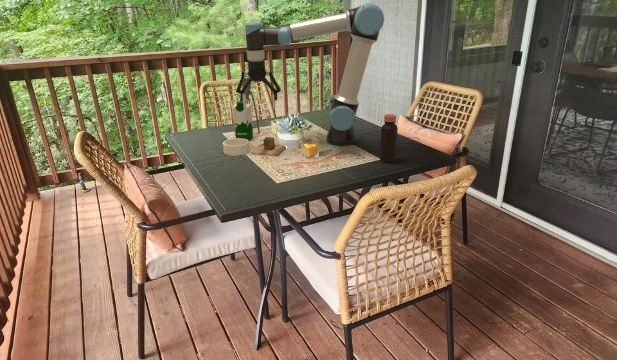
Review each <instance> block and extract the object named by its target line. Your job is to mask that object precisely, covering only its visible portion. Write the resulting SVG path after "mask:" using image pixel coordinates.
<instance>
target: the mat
mask: <svg viewBox="0 0 617 360" xmlns="http://www.w3.org/2000/svg"><path fill="white" fill-rule="evenodd" d="M287 150H288V149H285V150H284V151H283V152H282V153H281V154H280V155H279V156H267V155H254V154H251V152H249V153H248V156H257V157H270V158H281V156H282V155H283V154H285V153H286V151H287Z"/></svg>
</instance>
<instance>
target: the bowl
mask: <svg viewBox="0 0 617 360" xmlns="http://www.w3.org/2000/svg"><path fill="white" fill-rule="evenodd" d="M250 147H251V146H250V141H248V140H247V139H242V138H236V137H235V138H229V139H225V140H224V141H222V148H223V149H222V150H223V154H224V155H226V156H231V157H233V156H234V157H237V156H243V155H246V154H249V153H250V151H251V150H250V149H251V148H250Z"/></svg>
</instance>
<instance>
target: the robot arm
mask: <svg viewBox="0 0 617 360" xmlns="http://www.w3.org/2000/svg"><path fill="white" fill-rule="evenodd" d="M384 22H385V16H384V12H383V10H382V9H381V8H380V7H379V6H378V5H377V4H374V3H364V4H362V5H359V6H357V7H355V8H351V9H347V10H346V11H344V12H341V13H336V14H332V15H327V16H326V15H325V16H320V17H317V18H311V19H307V20H301V21H296V22H290V23H286V24H280V25H279V24H278V25H277V26H272V27H266V26H263V23H262V22H248V23H246V24H245V25H244V27H245V28H244V30H245V31H244V32H245V34H244V36H245V45H246V56H247V57H246V59H247V60H248V61H247V68H248V69H247V70H248V71H241V75H240V76H241V77H240V79H239V82H238V85H237V86H236V90H235V93H236V94H239V95H240V96H241V101H243V105H244V109H245V108H246V107H247V106H246V104H247V99H246V94H245V93H244V91H245V90H246V89H247V87H248V86H249V84H250V83H251V84H252V82H253V83H256V82H257V83H258V82H259V83H261V82H263V84H265V85H266V86H267V88H268V89H270V91H271V92H272V94H271V95H272V96H271V97H272V108H273V109H276V101H278V93H280V92H281V91H282V89H281V87H280V85H279V83H278V81H277V80H276V78H275V76H274V73H273V70H270V71H266V61H265V60H264V59H265V47H271V46H275V47H276V46H282V47H283V46H290V45H291V43H292V41H299V40H304V39H309V38H314V37H319V36H325V35H331V34H337V33H342V32H346V31H347V32H349V33H350V37H351V40H352V41H351V44H350V48H349V52H348V56H347V60H346V63H345V67H344V71H343V75H342V78H341V82H340V86H339V89H338V93H337V94H334V95H331V96H330V98H329V114H328V120H329V127H328V131H327V134H326V136H325V137H326V140H325V141H326V142H327V143H328V144H330V145H334V146H350V145H354V144H355V143H357V141H358V137H357V132H356V130H355V127H354V126H355V125H354V124H355V123H356V120H357V118H356V117H357V112H358V108H359V104H360V102H359V100H358V97H359V92H360V87H361V85H362V81H363V77H364V74H365V71H366V68H367V64H368V59H369V57H370V54H371V51H372V46H373V45H374V44H375V43H376V42H378V37H379V35H380V31H381V29H382V27H383V26H384ZM246 76H248V77H249V78H250V79H249V80H248V82H247V83H246V85H245V86H244V87H243V88H242V84H243V81H244V79H245V77H246ZM266 76H268V77H269V78H270V80H271V82H272V84H273V85H272V84H271V82H270V81H269V80H268V78H267V77H266ZM241 88H242V89H241ZM240 96H239V97H240Z"/></svg>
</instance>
